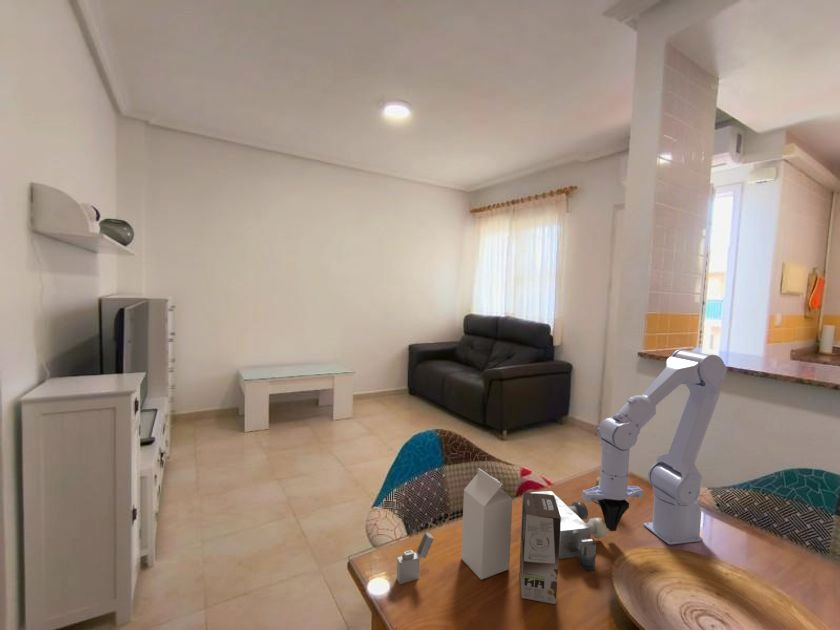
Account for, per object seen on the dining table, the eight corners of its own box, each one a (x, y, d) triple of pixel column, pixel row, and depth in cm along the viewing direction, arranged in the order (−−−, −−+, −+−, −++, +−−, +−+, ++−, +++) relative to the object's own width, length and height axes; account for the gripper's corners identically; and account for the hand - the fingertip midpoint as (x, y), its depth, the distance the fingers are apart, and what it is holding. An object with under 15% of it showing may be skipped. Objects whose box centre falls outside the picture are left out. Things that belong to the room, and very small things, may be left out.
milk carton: (481, 581, 77) (485, 486, 76) (460, 558, 84) (464, 471, 83) (509, 570, 81) (513, 479, 80) (488, 549, 87) (491, 465, 86)
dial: (589, 560, 84) (590, 535, 84) (598, 570, 82) (599, 544, 81) (576, 562, 84) (577, 536, 84) (584, 572, 81) (586, 545, 81)
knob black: (577, 514, 101) (578, 498, 100) (587, 523, 97) (588, 507, 96) (550, 516, 99) (551, 501, 99) (559, 525, 95) (560, 509, 95)
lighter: (399, 584, 76) (400, 544, 75) (396, 578, 77) (397, 538, 77) (432, 574, 79) (434, 535, 78) (428, 568, 80) (430, 530, 80)
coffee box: (557, 605, 72) (562, 519, 71) (520, 598, 73) (524, 514, 72) (551, 571, 81) (555, 494, 80) (518, 565, 82) (522, 490, 81)
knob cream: (595, 530, 94) (596, 514, 93) (606, 540, 90) (607, 523, 90) (566, 533, 92) (567, 516, 92) (576, 544, 88) (577, 526, 88)
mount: (550, 514, 102) (551, 490, 101) (588, 555, 86) (590, 527, 86) (524, 516, 100) (525, 492, 100) (559, 558, 85) (561, 530, 84)
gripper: (629, 462, 97) (625, 516, 98) (575, 465, 94) (572, 521, 95) (651, 475, 90) (647, 533, 91) (594, 479, 87) (591, 539, 88)
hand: (610, 528), depth 92 cm, fingers closed
